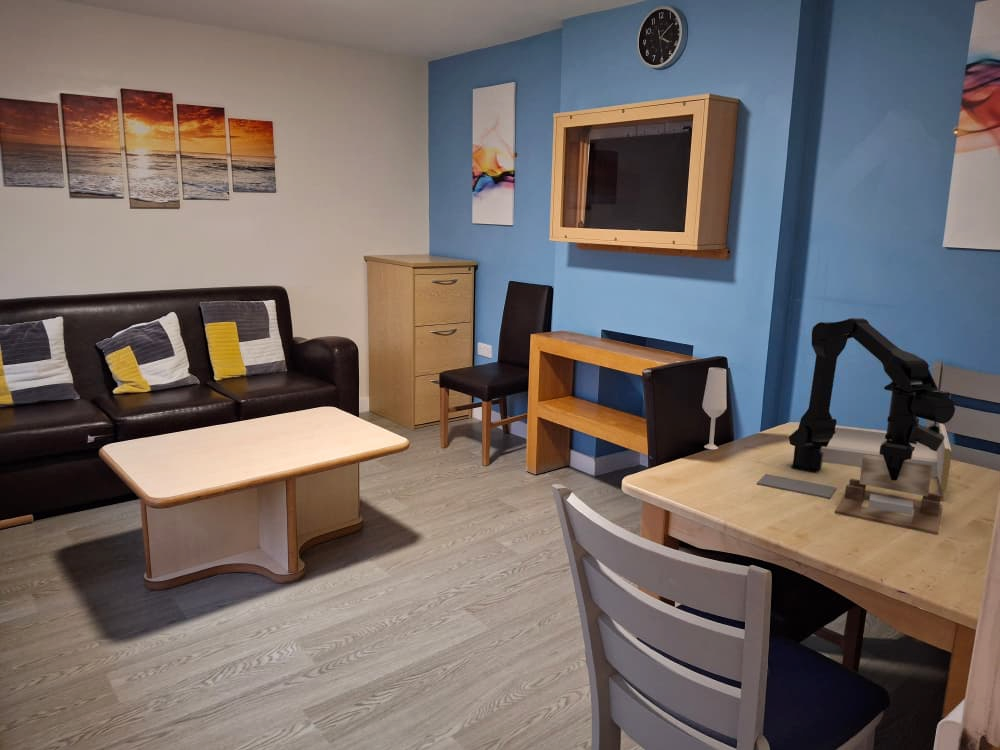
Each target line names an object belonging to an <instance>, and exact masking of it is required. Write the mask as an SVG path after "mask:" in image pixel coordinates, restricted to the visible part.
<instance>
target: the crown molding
mask: <svg viewBox="0 0 1000 750" xmlns="http://www.w3.org/2000/svg"><path fill="white" fill-rule="evenodd" d="M886 433H887V430H882V429H881V430H880V429H870V428H861V427H854V426H845V425H837V424H836V426H835V434H833V437H832V439H830V441H829V444H828V446H827V447H822V450H821V452H823V462H825V463H830V464H831V463H832V464H838V465H839V464H840V465H846V466H853V467H860V468H861V467H862V459H863V456H864V454H865V455H871V456H877V457H883V455H880V454H879V453H880V446H881V444H882V443H883V442H884V441H886V440H887V439H885V435H886ZM909 444H910V445H911V446H912V447H915V449H914V451H913V453H912V454H913V455H912V458H911V459H907V460H905V461H907V462H913V463H919V464H925V465H931V466H932V472H931V476H932V477H931V478H935V477H938V472H937V464H938V458H937V456H938V450H937V451H933V450H931V449H930V448H929V447H927V446H925V445H922V444H920V443H918V442H917V444H912V443H909ZM883 458H884V457H883ZM823 462H822V463H823Z"/></svg>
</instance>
